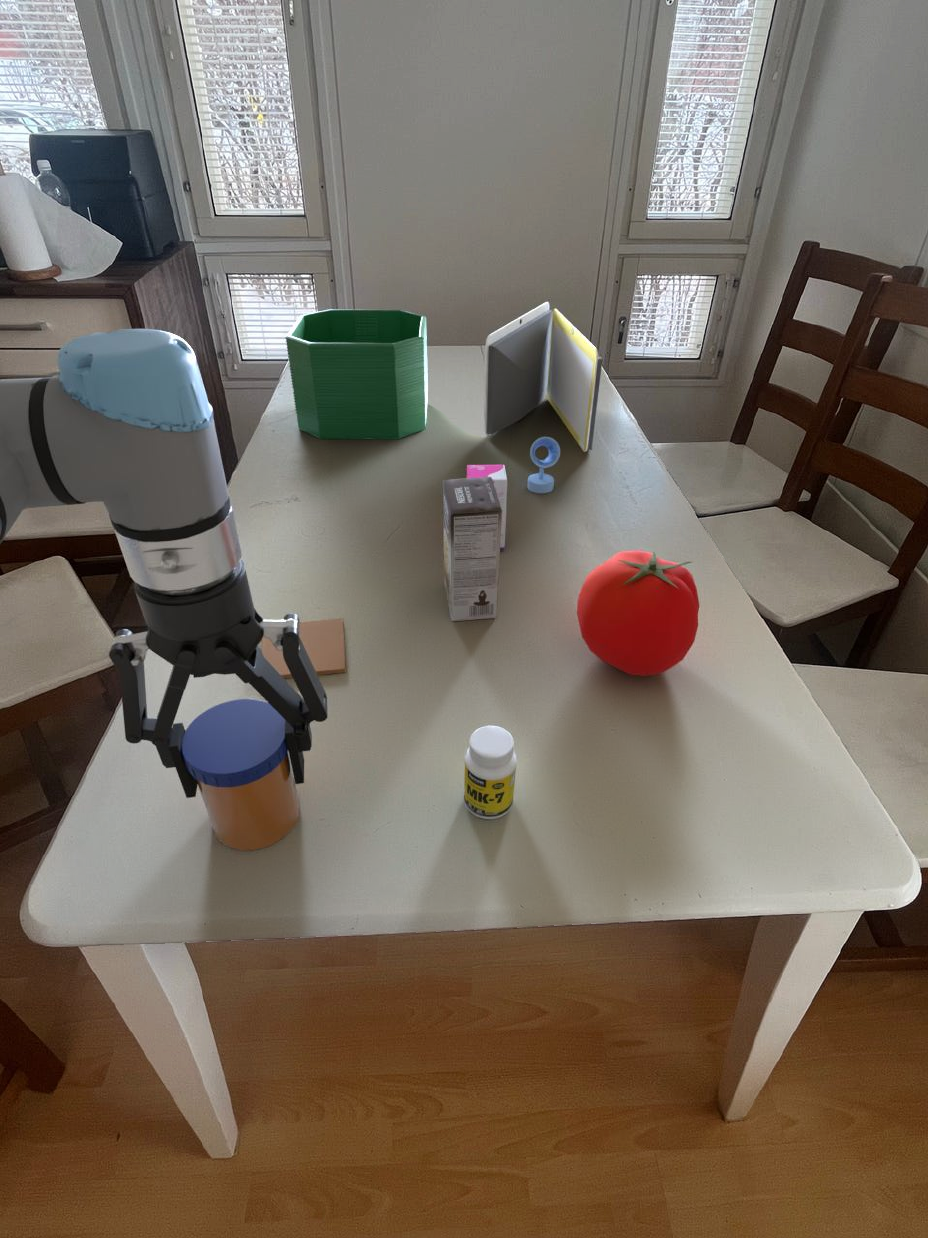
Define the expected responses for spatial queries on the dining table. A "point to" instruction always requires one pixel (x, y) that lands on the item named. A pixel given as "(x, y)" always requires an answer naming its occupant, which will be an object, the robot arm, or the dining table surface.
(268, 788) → the jar
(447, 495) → the coffee box
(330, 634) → the coaster
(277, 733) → the lid
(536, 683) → the dining table surface
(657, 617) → the tomato
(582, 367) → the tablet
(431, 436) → the dining table surface
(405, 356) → the planter
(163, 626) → the robot arm
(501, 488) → the supplement box
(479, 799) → the supplement bottle
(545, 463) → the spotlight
